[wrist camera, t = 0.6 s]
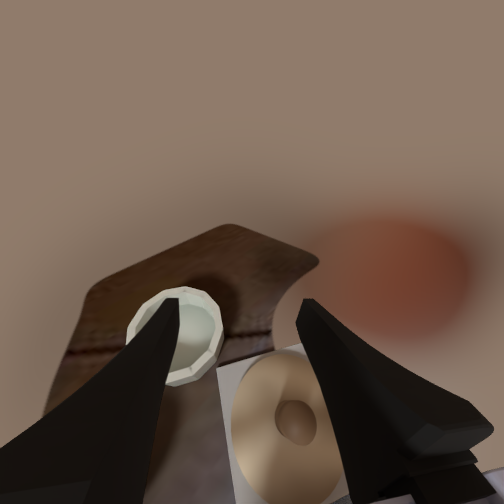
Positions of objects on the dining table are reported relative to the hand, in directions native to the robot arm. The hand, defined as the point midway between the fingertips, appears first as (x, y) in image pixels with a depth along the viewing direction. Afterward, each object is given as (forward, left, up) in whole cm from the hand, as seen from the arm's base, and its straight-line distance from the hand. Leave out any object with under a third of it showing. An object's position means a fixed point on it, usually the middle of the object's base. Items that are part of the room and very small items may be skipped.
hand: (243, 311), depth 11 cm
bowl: (+4, +6, -16) cm, 18 cm away
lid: (-7, -4, -16) cm, 18 cm away
